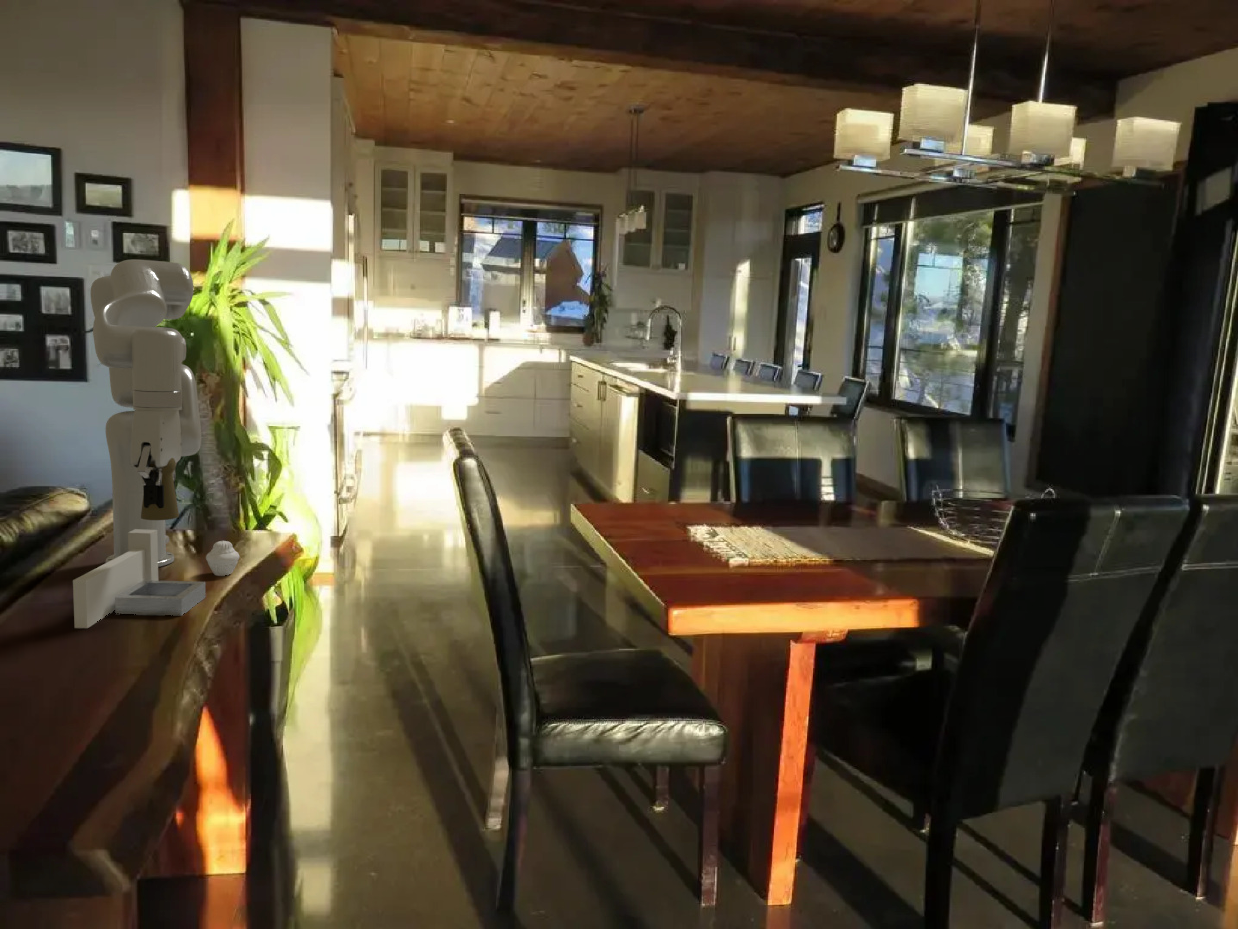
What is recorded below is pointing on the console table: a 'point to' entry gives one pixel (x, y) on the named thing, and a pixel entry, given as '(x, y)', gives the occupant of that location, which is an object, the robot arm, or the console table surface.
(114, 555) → the robot arm
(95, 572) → the door panel
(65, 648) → the console table surface
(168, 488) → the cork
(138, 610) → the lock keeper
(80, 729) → the console table surface
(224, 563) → the muffin
